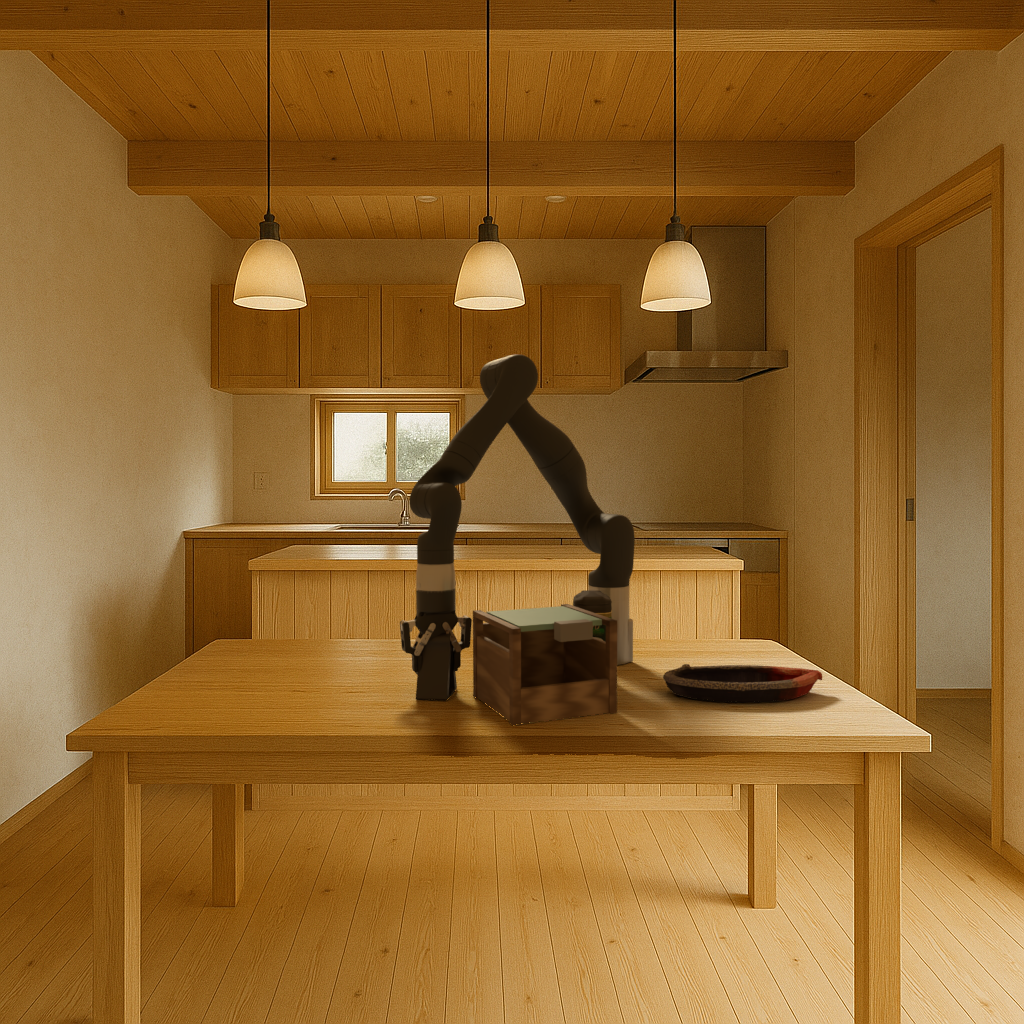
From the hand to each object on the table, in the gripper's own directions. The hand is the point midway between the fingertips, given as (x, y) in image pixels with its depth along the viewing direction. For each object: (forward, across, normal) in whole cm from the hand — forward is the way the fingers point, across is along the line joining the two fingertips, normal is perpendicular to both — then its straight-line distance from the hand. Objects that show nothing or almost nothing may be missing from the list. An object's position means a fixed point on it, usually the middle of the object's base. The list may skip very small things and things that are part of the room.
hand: (436, 672), depth 161 cm
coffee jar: (+5, -32, +3) cm, 32 cm away
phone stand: (+5, 0, 0) cm, 5 cm away
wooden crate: (+4, -16, +14) cm, 22 cm away
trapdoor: (-10, -16, +17) cm, 26 cm away
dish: (+5, -54, +23) cm, 59 cm away
